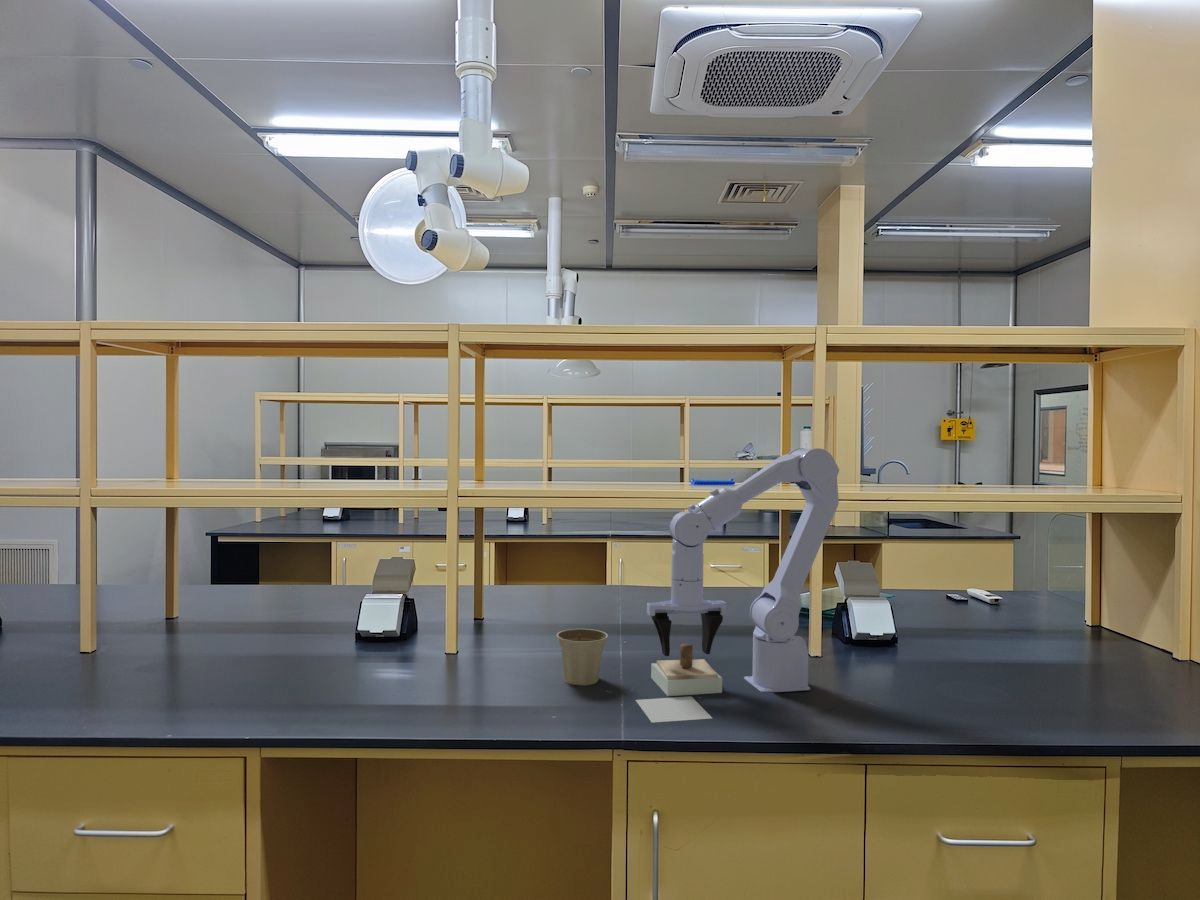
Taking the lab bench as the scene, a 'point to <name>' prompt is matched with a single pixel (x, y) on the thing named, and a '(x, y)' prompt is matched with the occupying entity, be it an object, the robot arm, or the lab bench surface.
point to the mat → (672, 709)
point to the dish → (685, 684)
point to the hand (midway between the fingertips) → (686, 653)
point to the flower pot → (581, 655)
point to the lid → (686, 666)
